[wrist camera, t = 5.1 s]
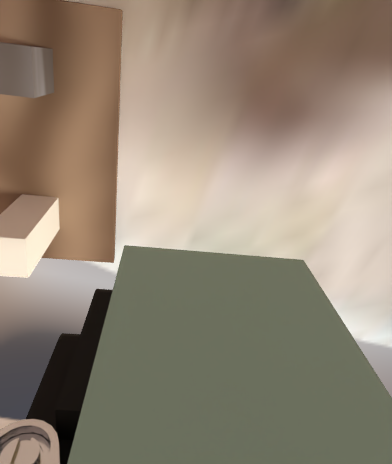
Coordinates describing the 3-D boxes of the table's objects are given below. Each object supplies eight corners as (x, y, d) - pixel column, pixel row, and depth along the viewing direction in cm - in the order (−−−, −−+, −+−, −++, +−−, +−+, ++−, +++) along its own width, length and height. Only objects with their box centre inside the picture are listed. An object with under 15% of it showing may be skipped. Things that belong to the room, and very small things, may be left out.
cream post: (58, 197, 27) (25, 239, 21) (59, 228, 28) (28, 277, 22) (21, 194, 27) (-23, 235, 20) (24, 226, 28) (-17, 274, 22)
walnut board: (122, 10, 23) (112, -1, 19) (114, 258, 30) (106, 290, 26) (-66, -18, 21) (-121, -36, 17) (-25, 249, 29) (-57, 280, 25)
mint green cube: (303, 259, 11) (467, 515, 5) (266, 386, 13) (347, 669, 7) (124, 245, 10) (54, 513, 4) (118, 380, 12) (67, 680, 6)
